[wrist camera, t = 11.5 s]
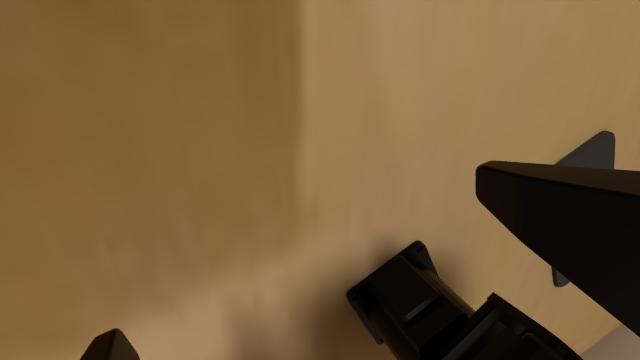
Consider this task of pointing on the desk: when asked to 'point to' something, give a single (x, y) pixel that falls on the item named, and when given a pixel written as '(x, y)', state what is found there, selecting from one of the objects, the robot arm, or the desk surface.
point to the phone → (593, 156)
